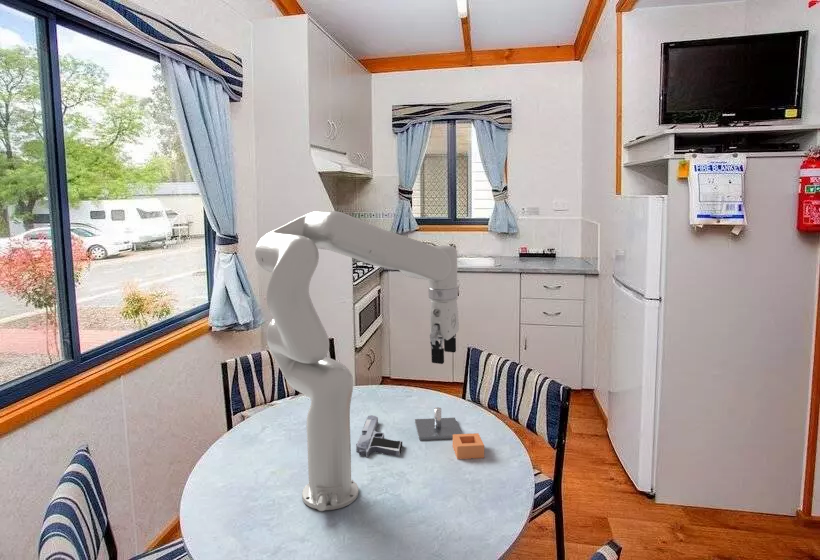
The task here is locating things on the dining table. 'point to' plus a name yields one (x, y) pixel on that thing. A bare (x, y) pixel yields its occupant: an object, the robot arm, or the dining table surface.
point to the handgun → (376, 440)
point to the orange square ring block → (468, 446)
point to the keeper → (437, 427)
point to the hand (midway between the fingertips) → (444, 357)
